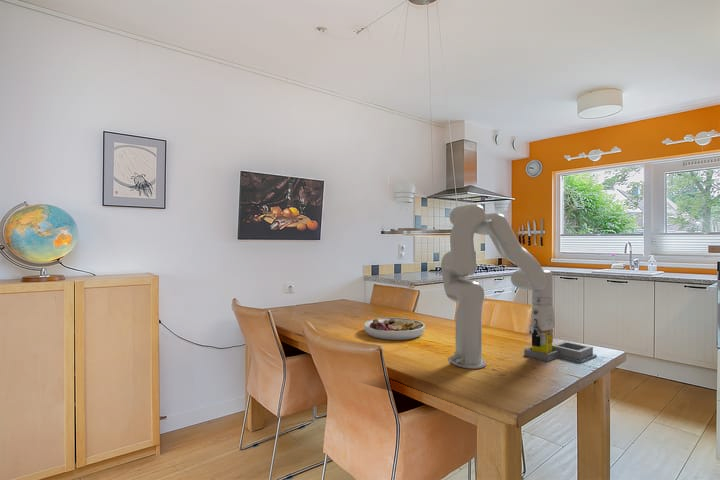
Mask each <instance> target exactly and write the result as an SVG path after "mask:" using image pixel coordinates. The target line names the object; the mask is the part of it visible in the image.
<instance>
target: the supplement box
mask: <svg viewBox="0 0 720 480" xmlns="http://www.w3.org/2000/svg"><path fill="white" fill-rule="evenodd" d="M538 329H539V328H538ZM536 332H538V331H536ZM539 336H540V347H537V346H533V345H532V344H531V347H532V350H533V351H537V352H541V353H545V354H548V353H551V352H552V345H553V342H552V329H550V330H547V331H541V332H540V335H539Z"/></svg>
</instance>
